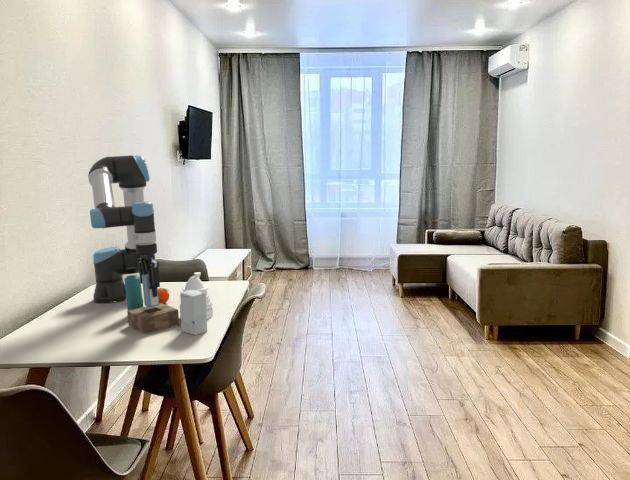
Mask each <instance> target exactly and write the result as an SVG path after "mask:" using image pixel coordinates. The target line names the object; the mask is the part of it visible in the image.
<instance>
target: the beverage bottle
mask: <svg viewBox="0 0 630 480" xmlns="http://www.w3.org/2000/svg"><path fill="white" fill-rule="evenodd" d="M137 274H138V273H137V270H136V267H130V268H127V269H126V274H125V275H127V276H126V277H125V278H124V279H123V282H124V284H125V289H126V299H125V301H126V312H127V311H129V310H133V309H137V308H142V307H145V305H144V298H143V286H142V284H141V283H140V275H137Z"/></svg>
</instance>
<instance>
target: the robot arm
mask: <svg viewBox="0 0 630 480" xmlns="http://www.w3.org/2000/svg"><path fill="white" fill-rule="evenodd" d="M87 178H88V183H89V185H90V186H91V188H92V197H93V205H94V208H92V209H90V211H89V214H90V215H89V216H90V217H89V218H90V223H91V224H90V225H91V227H92V228H93V229H109V228H118V227H126V236H127V242H126V243H125V244H124V248H123V249H121V248H120V246H108V247H105V248H101V249H99V250H96V251H95V252H94V253H93V256H92V259H93V264H94V265H93V268H94V276H95V288H94V293H93V302H95V303H99V304H103V303H104V304H109V303H110V304H111V303H116V302H120V301H124V300H126V289H125V281H124V279H123V278H124V276H123V275H125V276H126V275H127V274H126V269H127V268H130V267H136V270H137V273H136V274H139V277H140V283H141V285H143V284H142V275H143V274H148V276H149V283H150V288H149V290H150V301H151V306H153V305H157V304H158V294H157V288H158V289H159V288H161V284H160V283H161V282H160V281H161V280H160V270H159V267H160V262H159V261H157V260H156V253H158V244H157V243H156V242H157V235H156V234H157V232H156V228H155V227H156V225H155V213H154V212H155V210H154V204H153V202H151V201H145V195H144V189H145V188H146V187H147V183H148V182H149V181H150V174H149V169H148V166H147V162H146V159H145V157H144V156H143V155H137V154H136V155H134V154H133V155H117V156H105V157H103V158H102V157H101V158H100V159H98V160H97V161H96V162H94V164H92V166H91V167H90V169H89V171H88V177H87ZM112 184H118V187H119V189H120V190H122V192H123V203H124V206H115V204H116V203H115V198H114V193H113V186H112Z"/></svg>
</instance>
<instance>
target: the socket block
mask: <svg viewBox="0 0 630 480" xmlns="http://www.w3.org/2000/svg"><path fill="white" fill-rule="evenodd" d="M126 313H127V314H126V315H127V321H128V322H127V323H128V327H130V328H132V329H134V330H136V331H138V332H140V333H143V334H144V335H146V334H149V333H153V332H157V331H161V330H164V329H169V328H172V326H173V327H177V326H180V316H179V315H180V314H179V309H177V308H175V307H173V306H170V305H167V304H166V303H164V304H162V303H159V305H158V306H153V307H147V306H144V307H142V308H137V309H133V310H129V311H127V310H126Z"/></svg>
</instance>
